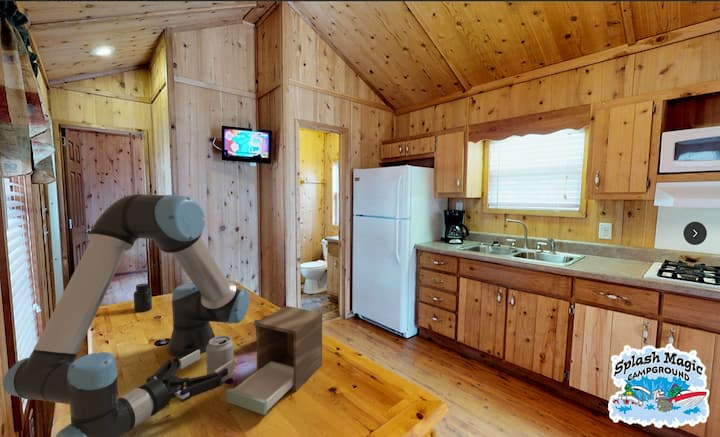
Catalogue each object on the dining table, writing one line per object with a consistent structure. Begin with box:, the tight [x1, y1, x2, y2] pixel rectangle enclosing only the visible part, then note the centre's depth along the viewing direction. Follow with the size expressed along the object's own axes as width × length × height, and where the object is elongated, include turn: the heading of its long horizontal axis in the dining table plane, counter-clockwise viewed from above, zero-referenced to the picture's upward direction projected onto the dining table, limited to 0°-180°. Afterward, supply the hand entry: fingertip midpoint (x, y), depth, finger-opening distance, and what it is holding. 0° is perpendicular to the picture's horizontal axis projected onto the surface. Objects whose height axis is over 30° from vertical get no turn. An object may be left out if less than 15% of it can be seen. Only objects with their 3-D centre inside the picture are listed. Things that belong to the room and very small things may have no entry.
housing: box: [256, 305, 323, 392], centre depth 99 cm, size 14×15×18 cm
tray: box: [226, 361, 294, 416], centre depth 89 cm, size 12×18×3 cm
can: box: [205, 335, 235, 383], centre depth 96 cm, size 8×8×12 cm
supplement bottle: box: [133, 283, 153, 313], centre depth 147 cm, size 7×7×12 cm
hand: (216, 358), depth 94 cm, fingers open, 13 cm apart
